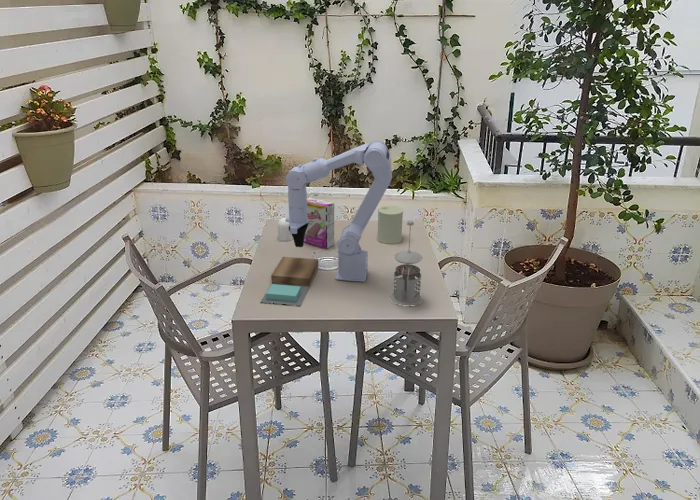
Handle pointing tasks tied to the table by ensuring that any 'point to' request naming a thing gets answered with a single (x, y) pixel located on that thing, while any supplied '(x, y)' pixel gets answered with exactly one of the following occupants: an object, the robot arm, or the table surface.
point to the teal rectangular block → (283, 293)
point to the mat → (297, 303)
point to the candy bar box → (320, 223)
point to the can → (390, 224)
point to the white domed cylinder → (284, 230)
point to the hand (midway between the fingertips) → (299, 246)
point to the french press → (407, 277)
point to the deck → (295, 271)
